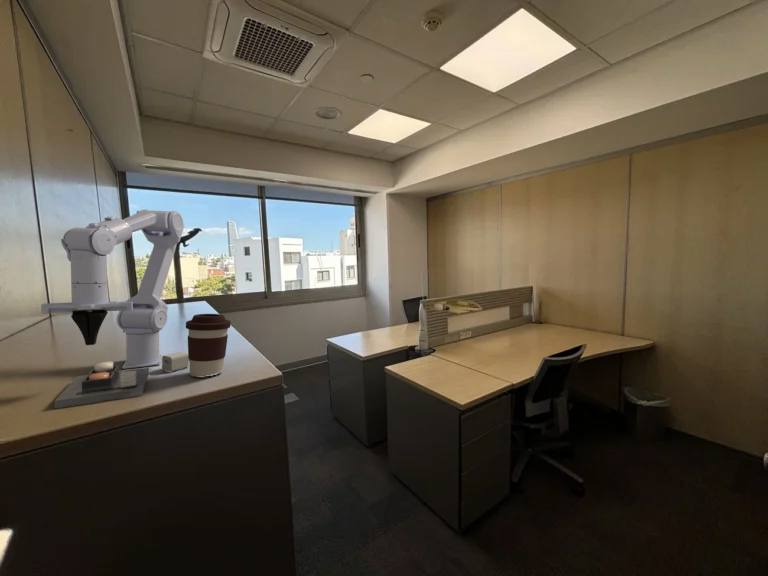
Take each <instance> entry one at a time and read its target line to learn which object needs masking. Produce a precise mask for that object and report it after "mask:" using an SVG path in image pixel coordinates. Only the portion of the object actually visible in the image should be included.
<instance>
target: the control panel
mask: <svg viewBox="0 0 768 576" xmlns="http://www.w3.org/2000/svg"><path fill="white" fill-rule="evenodd" d="M128 371H136V379H137V382H136V385H134V386H127V387H121V379H120V375H121V373H122V372H128ZM107 372H108V373H109V378H103V379H95V380H89V376H90V375H92V374H95V373H101V372H95V367H93V368H92V369H91V370H90V371H89V372H88V374H83V375H77V376H76V377H75V378H74V380H72V381H71V383H70V384H69V385H68V386H67V387H66V388H65V389H64V390H63V391H62V392H61V394H59V396H58V397H57V398H55V400H54V410H56V409H63V408H69V407H75V406H81V405H88V404H94V403H95V404H96V403H102V402H109V401H115V400H122V399H127V398H128V399H129V398H133V397H141V396H143V395H144V394H143V393H144V391H145V387H146V385H147V381H148V379H149V375H150V368H149V367H148V368H147V367H146V368H145V367H144V368H136V369H128V370H120V365H113V370H111V371H107Z"/></svg>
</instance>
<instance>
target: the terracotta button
mask: <svg viewBox="0 0 768 576" xmlns="http://www.w3.org/2000/svg"><path fill="white" fill-rule="evenodd" d="M103 378H109V373H108V372H101V373H95V374H92V375H90V376H89V380H95V379H103Z"/></svg>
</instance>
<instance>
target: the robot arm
mask: <svg viewBox="0 0 768 576" xmlns="http://www.w3.org/2000/svg"><path fill="white" fill-rule="evenodd" d="M184 228H185V224H184V219H183V217H182V215H181V214H180V213H179V211H176V210H173V211H172V210H171V211H168V210H166V211H165V210H149V209H142V210H136V213H134V214H132V215H129V216H127V217H126V218H123V219H121V218H118V217H115V216H106V217H104V220H102V221H100V222H91V223H88V226H86V227H71V228H70V229H68V230H67V231H66V232H65V233H64V234H63V237H62V238H61V239H60V241H61V242H60V243H61V246H62V248H63V249H64V250H65V252H66V257H67V258H66V259H67V260H68V261H69V262H70V286H71V291H70V292H71V301H70V302H50V303H47V302H46V303H42V304H40V306H41V307H40V312H41V313H40V314H45V315H47V314H58V313H59V314H60V313H63V314H64V313H72V314H71V315H70V317H71V319H72V321H73V322H74V323H75V324H76V326H77V327H78V330H79V331H80V333H81V335H82V337H83V340H84V344H85V346H93V345H96V344H97V339H98V334H99V331H100V329H101V327H102V324H103V322H104V321H105V318H106V317H107V315H108V314H109V312H115V311H116V312H118V313H117V316H116V322H117V325H118V327H119V328H120V329H121V330H122V333H124V334H125V349H126V350H125V352H126V357H125V358H126V360H125V362H124V364H123V365H122V367H121V369H123V370H124V369H133V368H141V367H142V368H143V367H144V368H145V367H150V366H160V365H161V364H162V356H163V354H160V331H162V330H163V329H164V327H165V326H166V324H167V322H168V309H169V306H168V304H167V303H166V302H165V301H164V300H162V299H161V297H162V294H163V291H164V287H165V284H166V281H167V278H168V275H169V271H170V269H171V265H172V261H173V260H174V256H175V252H176V250H177V245H178V244H179V243H180V241H181V238H182V235H183V233H184V232H183V231H184ZM137 231H138V232H139V231H141V232H142V233H143V235H144V237H145V238H146V241H148V242H149V243H152V244H153V247H152V251H151V254H150V257H149V259H148V262H147V265H146V268H145V271H144V273H143V277H142V280H141V282H140V285H139V288H138V291H137V294H136V295H134V296H132V297H130V298H128V299H127V300H126V301H108V276H107V275H108V270H107V269H108V268H107V264H108V263H107V261H108V260H107V259H108V257H107V255H111V253H112V252H113V250H114V248H115V246H118V245H119V244H121V243H124V242H126V241H128V240H130V239H131V238H132V235H133V233H134V232H135V233H136V232H137Z"/></svg>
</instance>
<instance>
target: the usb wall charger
mask: <svg viewBox="0 0 768 576" xmlns="http://www.w3.org/2000/svg"><path fill="white" fill-rule="evenodd" d="M189 362H190V361H189V358H188V352H183V351H178V352H174V353H169V354H164V355H162V359H161V369H162V371H163V370H166V371H165V372H167V371H171V372H170V373H173V372H172V371H174V372H176V371H175V370H178V369H181V368H184V367H187V366H188V367H189ZM181 370H182V369H181ZM178 371H179V370H178Z"/></svg>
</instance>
